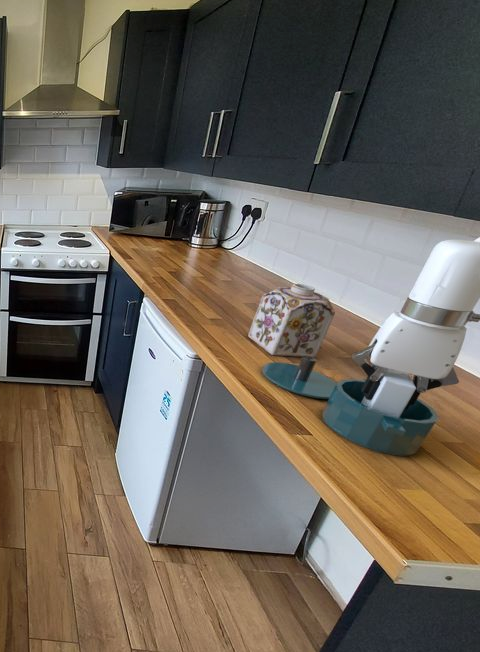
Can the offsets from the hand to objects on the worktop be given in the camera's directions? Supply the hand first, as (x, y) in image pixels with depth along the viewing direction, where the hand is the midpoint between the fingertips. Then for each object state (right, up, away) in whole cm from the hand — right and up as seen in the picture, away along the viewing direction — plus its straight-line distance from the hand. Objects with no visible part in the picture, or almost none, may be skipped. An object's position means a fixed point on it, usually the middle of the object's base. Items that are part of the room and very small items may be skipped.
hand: (384, 400), depth 76 cm
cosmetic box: (0, -6, +3) cm, 7 cm away
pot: (0, -7, +3) cm, 7 cm away
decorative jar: (+8, +8, +36) cm, 37 cm away
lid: (-1, +1, +18) cm, 18 cm away
